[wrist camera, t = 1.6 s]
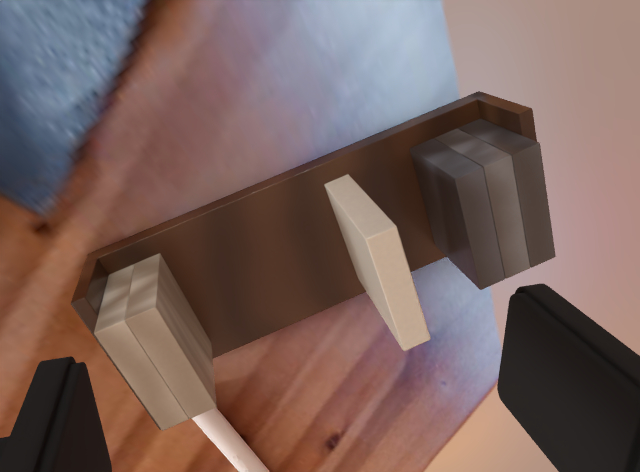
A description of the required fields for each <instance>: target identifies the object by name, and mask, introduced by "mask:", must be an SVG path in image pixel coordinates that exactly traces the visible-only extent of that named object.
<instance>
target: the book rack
mask: <svg viewBox="0 0 640 472" xmlns="http://www.w3.org/2000/svg"><path fill="white" fill-rule="evenodd" d="M347 174H348V175H349V176H350V177H351V178H352V179H353V180H354V181H355V182H356V183H357V184H358V185H359V186H360V188H361V189H362V190H363V191H364V192H365V193H366V194H367V195H368V196H369V197H370V198H371V199H372V200H373V202H374V203H375V204H376V205H377V206H378V207H379V208H380V209H381V210H382V211H383V212H384V213H385V214H386V216H387V217H388V218H389V219H390V220H391V221H392V222H393V223H394V224H395V225H396V226H397V229H398V233H399V236H400V239H401V242H402V246H403V249H404V252H405V256H406V259H407V262H408V266H409V269H410V272H412V271H414V270H417V269H419V268H421V267H424V266H426V265H428V264H430V263H433V262H435V261H437V260H440V259H442V258H444V257H446V256H447V257H448V258H449V259H450V260H451V261H452V262H453V263H454V264H455V265H456V266H457V267H458V268H459V269H460V270H461V271H462V272H463V273H464V274H465V275H466V276H467V277H468V278H469V279H470V280H471V281H472V282H473V283H474V284H475V285H476V286H477V287H478V288H479V289H480V290H482V289H484V288H486V287H488V286H491V285H493V284H495V283H497V282H500V281H502V280H504V279H505V278H509V277H511V276H513V275H515V274H518V273H520V272H522V271H524V270H527V269H529V268H530V267H534V266H536V265H538V264H541V263H543V262H545V261H547V260H549V259H552V258H554V257H555V249H554V242H553V235H552V228H551V221H550V214H549V206H548V199H547V192H546V185H545V177H544V170H543V163H542V156H541V149H540V144H539V142H537V139H536V133H535V125H534V118H533V111H532V109H531V108H528V107H526V106H522V105H519V104H516V103H513V102H510V101H507V100H504V99H500V98H498V97H495V96H491V95H489V94H486V93H483V92H476V93H474V94H471V95H469V96H467V97H464V98H462V99H459V100H457V101H455V102H452V103H450V104H447V105H445V106H443V107H440V108H438V109H435V110H433V111H431V112H428V113H426V114H423V115H421V116H419V117H416V118H414V119H411V120H409V121H407V122H404V123H402V124H399V125H397V126H395V127H392V128H390V129H387V130H385V131H383V132H380V133H378V134H375V135H373V136H371V137H368V138H366V139H363V140H361V141H359V142H356V143H354V144H351V145H349V146H347V147H344V148H342V149H339V150H337V151H335V152H332V153H330V154H327V155H325V156H323V157H320V158H318V159H315V160H313V161H311V162H308V163H306V164H303V165H301V166H299V167H296V168H294V169H291V170H289V171H287V172H284V173H282V174H279V175H277V176H275V177H272V178H270V179H267V180H265V181H263V182H260V183H258V184H255V185H253V186H251V187H248V188H246V189H243V190H241V191H239V192H236V193H234V194H231V195H229V196H227V197H224V198H222V199H219V200H217V201H215V202H212V203H210V204H207V205H205V206H203V207H200V208H198V209H195V210H193V211H191V212H188V213H186V214H183V215H181V216H179V217H176V218H174V219H171V220H169V221H167V222H164V223H162V224H159V225H157V226H155V227H152V228H150V229H147V230H145V231H143V232H140V233H138V234H135V235H133V236H131V237H128V238H126V239H124V240H121V241H119V242H116V243H114V244H112V245H109V246H107V247H104V248H102V249H100V250H97V251H95V252H92V253H90V254H88V256H87V259H86V261H85V264H84V267H83V270H82V273H81V276H80V279H79V281H78V284H77V287H76V290H75V293H74V295H73V298H72V301H71V305H72V306H73V308H74V309H75V311H76V312H77V313H78V315H79V316H80V318H81V319H82V320H83V322H84V323H85V325H86V326H87V327H88V329H89V330H90V332H91V333H92V335H93V336H94V337H95V339H96V340H97V342H98V343H99V344H100V346H101V347H102V349H103V350H104V352H105V353H106V354H107V356H108V357H109V359H110V360H111V361H112V363H113V364H114V366H115V367H116V368H117V370H118V371H119V373H120V374H121V376H122V377H123V378H124V380H125V381H126V383H127V384H128V385H129V387H130V388H131V390H132V391H133V393H134V394H135V395H136V397H137V398H138V400H139V401H140V402H141V404H142V405H143V407H144V408H145V409H146V411H147V412H148V414H149V415H150V417H151V418H152V419H153V421H154V422H155V424H156V425H157V426H158V428H159V429H160V430H161V429H162V431H163V430H166V429H168V428H170V427H172V426H175V425H177V424H179V423H181V422H184V421H186V420H188V419H189V418H190V419H191V418H193V417H195V416H198V415H200V414H202V413H205V412H207V411H209V410H211V409H214V408H216V407H217V403H216V392H215V380H214V369H213V358H215V357H217V356H220V355H222V354H224V353H227V352H229V351H231V350H233V349H236V348H238V347H240V346H243V345H245V344H247V343H250V342H252V341H254V340H256V339H259V338H261V337H263V336H266V335H268V334H270V333H272V332H275V331H277V330H279V329H282V328H284V327H286V326H288V325H291V324H293V323H295V322H298V321H300V320H302V319H304V318H307V317H309V316H311V315H314V314H316V313H318V312H320V311H323V310H325V309H327V308H330V307H332V306H334V305H337V304H339V303H341V302H343V301H346V300H348V299H350V298H353V297H355V296H357V295H359V294H362V293H364V292H366V290H365V289H364V287H363V285H362V284H361V282H360V281H359V279H358V276H357V274H356V271H355V268H354V265H353V263H352V260H351V257H350V254H349V252H348V249H347V246H346V243H345V241H344V238H343V235H342V232H341V230H340V227H339V224H338V221H337V219H336V216H335V213H334V210H333V208H332V205H331V202H330V199H329V197H328V194H327V191H326V188H325V186H324V184H326V183H328V182H331V181H333V180H335V179H338V178H340V177H343V176H345V175H347Z"/></svg>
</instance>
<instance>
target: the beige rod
mask: <svg viewBox="0 0 640 472" xmlns="http://www.w3.org/2000/svg"><path fill="white" fill-rule="evenodd" d="M192 419H193V420H194V421H195V422H196V424H197V425H198V426H199V427H200V428H201V429H202V430H203V432H204V433H205V434H206V435H207V436H208V437H209V439H210V440H211V441H212V442H213V443H214V444H215V445H216V446H217V447H218V448H219V450H220V451H221V452H222V453H223V454H224V455H225V456H226V457H227V459H228V460H229V461H230V462H231V463H232V464H233V465H234V467H235V468H236V469H237V470H238V471H239V472H270V471H269V470H268V469H267V468H266V466H265V465H264V464H263V463H262V462H261V460H260V459H259V458H258V457H257V456H256V454H255V453H254V452H253V451H252V450H251V449H250V447H249V446H248V445H247V444H246V443H245V441H244V440H243V439H242V438H241V437H240V435H239V434H238V433H237V432H236V431H235V429H234V428H233V427H232V426H231V425H230V423H229V422H228V421H227V420H226V419H225V417H224V416H223V415H222V414H221V413H220V411H219V410H218V409H217V408H214V409H211V410H209V411H207V412H205V413H202V414H200V415H198V416H195V417H193V418H192Z"/></svg>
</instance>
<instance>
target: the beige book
mask: <svg viewBox="0 0 640 472" xmlns="http://www.w3.org/2000/svg"><path fill="white" fill-rule="evenodd" d="M324 186H325V188H326V191H327V194H328V197H329V199H330V202H331V205H332V208H333V210H334V213H335V216H336V219H337V221H338V224H339V227H340V230H341V232H342V235H343V238H344V241H345V243H346V246H347V249H348V252H349V254H350V257H351V260H352V263H353V265H354V268H355V271H356V274H357V276H358V279H359V281H360V282H361V284H362V285H363V287H364V289H365V290H366V292H367V293H368V295H369V297H370V298H371V300H372V301H373V303H374V305H375V306H376V308H377V309H378V311H379V313H380V314H381V316H382V317H383V319H384V321H385V322H386V324H387V325H388V327H389V329H390V330H391V332H392V333H393V335H394V337H395V338H396V340H397V342H398V343H399V345H400V346H401V348H402V350H403V351H406V350H408V349H410V348H413V347H415V346H417V345H419V344H421V343H424V342H426V341H428V340H430V335H429V332H428V328H427V325H426V322H425V318H424V315H423V312H422V308H421V305H420V302H419V299H418V295H417V292H416V289H415V285H414V282H413V279H412V275H411V272H410V269H409V266H408V262H407V259H406V256H405V252H404V249H403V246H402V242H401V239H400V236H399V233H398V229H397V226H396V225H395V224H394V223H393V222H392V221H391V220H390V219H389V218H388V217H387V216H386V214H385V213H384V212H383V211H382V210H381V209H380V208H379V207H378V206H377V205H376V204H375V203H374V202H373V200H372V199H371V198H370V197H369V196H368V195H367V194H366V193H365V192H364V191H363V190H362V189H361V188H360V186H359V185H358V184H357V183H356V182H355V181H354V180H353V179H352V178H351V177H350V176H349V175H348V174H347V175H345V176H343V177H340V178H338V179H335V180H333V181H331V182H328V183H326V184H324Z"/></svg>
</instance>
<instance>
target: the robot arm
mask: <svg viewBox="0 0 640 472" xmlns="http://www.w3.org/2000/svg"><path fill="white" fill-rule="evenodd" d="M498 393H499V397H500V399H501V401H502V402H503V403H504V404H505V406H506V407H507V408H508V410H510V412H511V413H512V415H513V416H514V417H515V418H516V419H517V421H518V422H519V423H520V424H521V426H522V427H523V428H524V429H525V430H526V432H527V433H528V434H529V435H530V437H531V438H532V439H533V440H534V442H535V443H536V444H537V445H538V446H539V448H540V449H541V450H542V451H543V453H544V454H545V455H546V456H547V458H548V459H549V460H550V461H551V463H552V464H553V465H554V466H555V467H556V469H557V470H558V471H559V472H640V356H639V355H637V354H636V353H635V352H634V351H632V350H631V349H630V348H628V347H627V346H626V345H624V344H623V343H622V342H620V341H619V340H618V339H616V338H615V337H614V336H613V335H611V334H610V333H609V332H607V331H606V330H605V329H603V328H602V327H601V326H599V325H598V324H597V323H596V322H594V321H593V320H592V319H590V318H589V317H588V316H586V315H585V314H584V313H583V312H581V311H580V310H579V309H577V308H576V307H575V306H573V305H572V304H571V303H569V302H568V301H567V300H565V299H564V298H563V297H562V296H560V295H559V294H558V293H556V292H555V291H554V290H552V289H551V288H550V287H548V286H547V285H545V284H536V285H529V286H523V287H519V288H518V289H517V290H516V292H515V294H513V295H512V296H511V297H510V301H509V308H508V314H507V321H506V328H505V336H504V343H503V350H502V357H501V364H500V371H499V379H498ZM0 472H112V467H111V461H110V457H109V453H108V449H107V445H106V441H105V437H104V433H103V429H102V425H101V421H100V417H99V413H98V409H97V406H96V402H95V398H94V394H93V390H92V386H91V382H90V378H89V374H88V370H87V367H86V364H85V363H84V362H81V363H76V362H75V360H74V358H73V357H65V358H59V359H52V360H46V361H41V362H40V363H39V365H38V367H37V369H36V372H35V374H34V377H33V379H32V382H31V385H30V387H29V390H28V392H27V395H26V397H25V400H24V402H23V405H22V407H21V410H20V412H19V415H18V417H17V420H16V422H15V425H14V427H13V430H12V432H11V435H10V437H4V438H0Z"/></svg>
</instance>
